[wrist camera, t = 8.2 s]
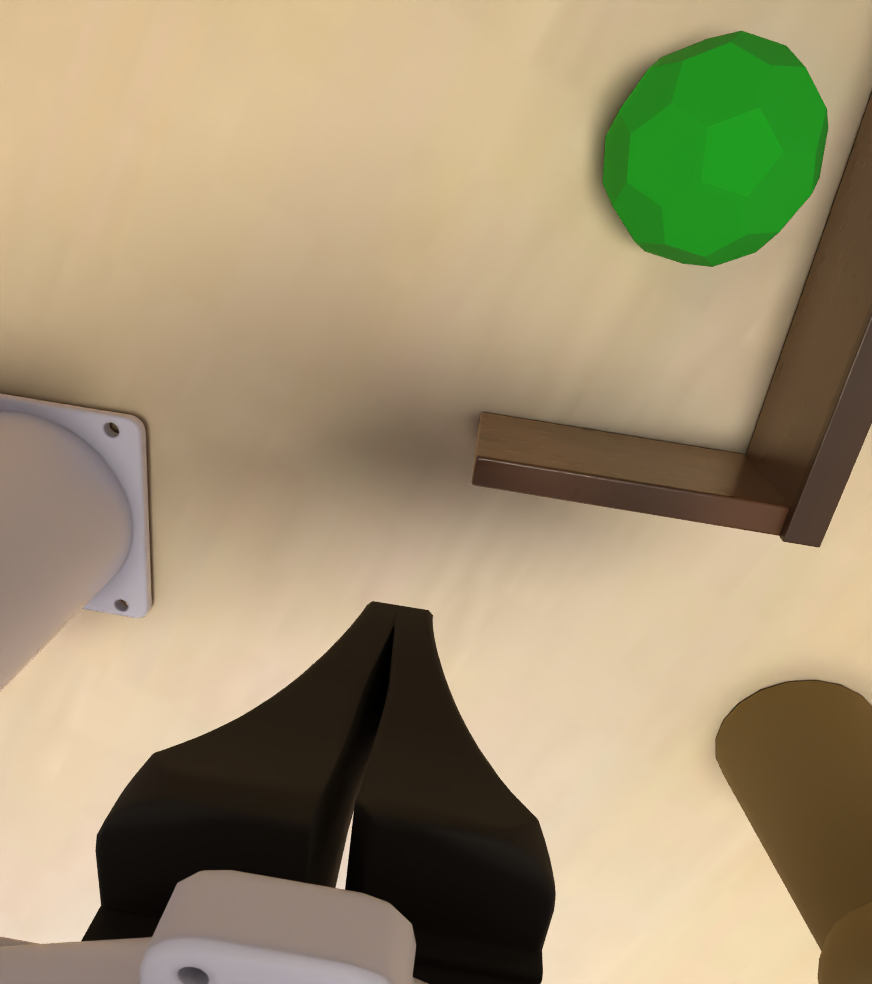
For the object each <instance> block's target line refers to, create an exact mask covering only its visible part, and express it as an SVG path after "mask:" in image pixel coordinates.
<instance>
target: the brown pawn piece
mask: <svg viewBox="0 0 872 984" xmlns="http://www.w3.org/2000/svg"><path fill="white" fill-rule="evenodd" d="M716 759H717V761H718V764H719V766H720V768H721V770H722V772H723V775H724V777H725V778H726V780H727V782H728V784H729V786H730V787H731V789H732V791H733V793H734V794H735V796H736V798H737V800H738V802H739V803H740V805H741V807H742V809H743V811H744V812H745V814H746V816H747V818H748V820H749V821H750V823H751V825H752V827H753V829H754V830H755V832H756V834H757V836H758V838H759V839H760V841H761V843H762V845H763V847H764V848H765V850H766V852H767V854H768V856H769V857H770V859H771V861H772V863H773V865H774V866H775V868H776V870H777V872H778V874H779V875H780V877H781V879H782V881H783V883H784V884H785V886H786V888H787V890H788V892H789V893H790V895H791V897H792V899H793V901H794V902H795V904H796V906H797V908H798V910H799V911H800V913H801V915H802V917H803V919H804V920H805V922H806V924H807V926H808V928H809V929H810V931H811V933H812V935H813V937H814V938H815V940H816V942H817V944H818V946H819V947H820V949H821V951H822V952H821V955H820V958H819V968H818V983H819V984H872V706H871V705H870V704H869V703H868V701H867V700H866V699H865V698H864V697H863V696H861V695H859V694H857V693H855V692H854V691H852V690H850V689H848V688H846V687H844V686H842V685H837V684H832V683H827V682H821V681H816V680H813V681H797V682H786V683H783V684H780V685H776V686H773V687H770V688H767V689H763V690H761V691H759V692H757V693H756V694H754V695H752V696H751V697H749V698H747V699H746V700H744V701H742V702H741V703H739V704H738V705H737V707H736V708H735V709H734V710H733V711H732V712H731V713H730V714H729V715H728V716H727V717H726V718H725V720H724V721H723V723H722V726H721V728H720V730H719V733H718V735H717V737H716Z"/></svg>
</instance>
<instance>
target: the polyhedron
mask: <svg viewBox="0 0 872 984" xmlns="http://www.w3.org/2000/svg"><path fill="white" fill-rule="evenodd" d="M827 132H828V119H827V108H826V106H825V104H824V102H823V100H822V99H821V97H820V95H819V93H818V91H817V89H816V87H815V85H814V83H813V81H812V79H811V77H810V75H809V73H808V71H807V69H806V67H805V66H804V65H803V64H802V63H801V62H800V61H799V59H798V58H797V57H796V56H795V55H794V54H793V53H792V52H791V51H790V49H789V48H788V47H787V46H786V45H783V44H780V43H777V42H774V41H771V40H768V39H765V38H762V37H759V36H756V35H753V34H750V33H747V32H744V31H739V32H734V33H730V34H726V35H722V36H717V37H713V38H709V39H706V40H703V41H701V42H698V43H696V44H693V45H691V46H688V47H686V48H683V49H681V50H678V51H676V52H673V53H671V54H668V55H666V56H664V57H662V58H660V59H659V60H658V61H657V62H656V63H654V64H653V65H652V66H651V67H650V68H649V69H648V70H647V72H646V73H645V74H644V76H643V77H642V79H641V80H640V81H639V83H638V84H637V86H636V87H635V89H634V90H633V91H632V93H631V94H630V96H629V97H628V99H627V100H626V101H625V103H624V104H623V106H622V107H621V109H620V110H619V111H618V113H617V115H616V117H615V119H614V121H613V123H612V125H611V127H610V129H609V131H608V133H607V135H606V137H605V153H604V170H603V185H604V188H605V190H606V192H607V195H608V197H609V199H610V202H611V204H612V206H613V208H614V209H615V211H616V212H617V214H618V216H619V217H620V219H621V220H622V222H623V224H624V225H625V227H626V228H627V230H628V232H629V233H630V235H631V236H632V238H633V240H634V241H635V242H636V243H637V244H638V245H639V246H640V247H641V248H642V249H643V250H644V251H646V252H649V253H652V254H655V255H659V256H662V257H665V258H668V259H671V260H674V261H677V262H680V263H684V264H693V265H702V266H710V267H713V266H716V265H719V264H722V263H725V262H728V261H731V260H734V259H737V258H740V257H743V256H746V255H749V254H752V253H755V252H757V251H758V250H759V249H760V248H761V247H762V246H764V245H765V244H766V243H767V242H768V241H769V240H771V239H772V238H773V237H774V236H775V235H776V234H777V233H779V232H780V231H781V229H782V228H783V227H784V226H785V225H786V224H787V222H788V221H789V220H790V219H791V218H792V216H793V215H794V214H795V213H796V212H797V211H798V209H799V208H800V207H801V206H802V205H803V204H804V202H805V201H806V200H807V199H808V198H809V197H810V195H811V194H812V193H813V190H814V188H815V186H816V184H817V182H818V180H819V177H820V172H821V166H822V160H823V154H824V149H825V143H826V137H827Z"/></svg>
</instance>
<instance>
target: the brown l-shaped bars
mask: <svg viewBox="0 0 872 984" xmlns="http://www.w3.org/2000/svg"><path fill="white" fill-rule="evenodd" d="M871 424H872V95H871V97H870V100H869V103H868V106H867V109H866V112H865V115H864V118H863V120H862V123H861V126H860V129H859V132H858V135H857V138H856V141H855V143H854V146H853V149H852V152H851V155H850V158H849V161H848V164H847V166H846V169H845V172H844V175H843V178H842V181H841V184H840V187H839V189H838V192H837V195H836V198H835V201H834V204H833V207H832V210H831V212H830V215H829V218H828V221H827V224H826V227H825V230H824V233H823V236H822V238H821V241H820V244H819V247H818V250H817V253H816V256H815V259H814V261H813V264H812V267H811V270H810V273H809V276H808V279H807V282H806V284H805V287H804V290H803V293H802V296H801V299H800V302H799V305H798V307H797V310H796V313H795V316H794V319H793V322H792V325H791V328H790V330H789V333H788V336H787V339H786V342H785V345H784V348H783V351H782V353H781V356H780V359H779V362H778V365H777V368H776V371H775V374H774V376H773V379H772V382H771V385H770V388H769V391H768V394H767V397H766V400H765V402H764V405H763V408H762V411H761V414H760V417H759V420H758V423H757V425H756V428H755V431H754V434H753V437H752V440H751V443H750V446H749V448H748V451H747V454H746V455H744V454H738V453H732V452H725V451H719V450H713V449H707V448H701V447H695V446H688V445H682V444H676V443H670V442H664V441H658V440H651V439H645V438H639V437H633V436H627V435H621V434H614V433H608V432H602V431H596V430H590V429H584V428H577V427H571V426H565V425H559V424H553V423H547V422H540V421H534V420H528V419H522V418H516V417H510V416H503V415H497V414H491V413H485V412H483V413H481V416H480V421H479V427H478V433H477V440H476V449H475V458H474V466H473V475H472V484H473V485H476V486H482V487H488V488H494V489H500V490H506V491H512V492H518V493H524V494H530V495H536V496H542V497H549V498H555V499H561V500H567V501H573V502H579V503H585V504H591V505H597V506H603V507H609V508H615V509H621V510H627V511H633V512H640V513H646V514H652V515H658V516H664V517H670V518H676V519H682V520H688V521H694V522H700V523H706V524H712V525H718V526H724V527H731V528H737V529H743V530H749V531H755V532H761V533H767V534H773V535H779V536H780V538H781V539H782V541H784V542H789V543H796V544H802V545H808V546H814V547H820V545H821V543H822V541H823V538H824V536H825V533H826V531H827V529H828V526H829V524H830V522H831V519H832V517H833V514H834V512H835V510H836V507H837V505H838V502H839V500H840V498H841V495H842V493H843V490H844V488H845V486H846V483H847V481H848V479H849V476H850V474H851V471H852V469H853V467H854V464H855V462H856V459H857V457H858V455H859V452H860V450H861V448H862V445H863V443H864V440H865V438H866V436H867V433H868V431H869V428H870V426H871Z"/></svg>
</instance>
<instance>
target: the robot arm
mask: <svg viewBox="0 0 872 984" xmlns="http://www.w3.org/2000/svg"><path fill="white" fill-rule="evenodd" d="M110 422H111V423H114V424H115V425H116V426H117V427H118V429H119V434H118V433H115V432H113V431H112V429H111V428H110ZM120 599H121V600H124V601H125V602H126V603H127V604H128V606H127V605H124V604H123V603H122V602H121V601H120ZM151 606H152V598H151V570H150V542H149V513H148V485H147V457H146V431H145V427H144V425H143V423H142V422H141V420H139V419H138V418H137V417H135V416H132V415H128V414H122V413H116V412H110V411H104V410H98V409H91V408H85V407H79V406H73V405H67V404H61V403H55V402H49V401H43V400H37V399H31V398H25V397H18V396H12V395H6V394H0V691H1V690H2V689H3V688H4V687H5V686H6V685H7V684H8V683H9V682H10V681H11V680H12V679H13V678H14V677H15V676H16V675H17V674H18V673H19V672H20V671H21V670H22V669H23V668H24V667H25V666H26V665H27V664H28V663H29V662H30V661H31V660H32V659H33V658H34V657H35V656H36V655H37V654H38V653H39V652H40V651H41V650H42V649H43V648H44V647H45V646H46V645H47V644H48V643H49V642H50V641H51V640H52V639H53V638H54V637H55V636H56V635H57V634H58V633H59V632H60V631H61V630H62V629H63V628H64V627H65V626H66V625H67V623H68V622H69V621H70V620H71V619H72V618H73V617H74V616H75V615H76V614H77V613H78V612H79V611H80V610H81V609H86V610H92V611H98V612H104V613H109V614H115V615H121V616H127V617H133V618H142V617H144V616H145V615H146V614H147V613H148V612H149V611H150V609H151ZM353 811H354V816H353V825H352V833H351V842H350V851H349V860H348V869H347V878H346V887H345V890H343V889H337V888H335V887H336V882H337V878H338V873H339V869H340V864H341V860H342V855H343V851H344V846H345V842H346V837H347V833H348V829H349V825H350V822H351V818H352V815H353ZM96 859H97V869H98V879H99V889H100V898H101V907H100V908H99V910H98V912H97V914H96V916H95V917H94V919H93V921H92V923H91V925H90V926H89V928H88V930H87V932H86V934H85V935H84V937H83V939H82V941H81V942H66V943H50V944H38V943H32V942H27V941H21V940H15V939H10V938H4V937H0V984H541V981H542V975H543V965H542V948H543V945H544V941H545V938H546V935H547V931H548V928H549V925H550V922H551V918H552V915H553V912H554V906H555V895H556V894H555V883H554V877H553V872H552V867H551V862H550V857H549V854H548V850H547V846H546V842H545V839H544V836H543V833H542V830H541V827H540V824H539V821H538V819H537V818H536V817H535V816H534V815H533V814H532V813H531V812H530V811H529V810H528V809H527V808H526V807H525V806H524V805H523V804H522V803H521V802H520V801H519V800H518V799H517V798H516V797H515V796H514V795H513V793H512V792H511V791H510V790H509V789H508V788H507V786H506V785H505V784H504V783H503V781H502V780H501V779H500V778H499V777H498V775H497V774H496V772H495V771H494V769H493V768H492V766H491V765H490V764H489V762H488V761H487V759H486V758H485V756H484V755H483V753H482V752H481V751H480V749H479V748H478V746H477V744H476V743H475V741H474V739H473V737H472V736H471V734H470V732H469V730H468V729H467V727H466V725H465V723H464V721H463V719H462V717H461V715H460V713H459V711H458V709H457V706H456V704H455V702H454V699H453V697H452V694H451V692H450V690H449V687H448V684H447V682H446V679H445V676H444V673H443V669H442V666H441V663H440V660H439V656H438V652H437V648H436V644H435V639H434V633H433V615H432V614H431V613H430V611H429V610H424V609H417V608H411V607H405V606H399V605H393V604H387V603H380V602H374V601H373V602H371V603H369V604H368V605H367V606H366V607H365V609H364V610H363V612H362V613H361V614H360V616H359V617H358V618H357V619H356V621H355V622H354V623H353V624H352V625H351V627H350V628H349V629H348V630H347V631H346V632H345V633H344V634H343V636H342V637H341V638H340V639H339V640H338V641H337V642H336V643H335V644H334V645H333V646H332V647H331V648H330V649H329V650H328V651H327V652H326V653H325V654H324V655H323V656H322V657H321V658H320V659H319V660H317V661H316V662H315V663H314V664H313V665H312V666H311V667H310V668H309V669H307V670H306V671H305V672H304V673H303V674H302V675H300V676H299V677H298V678H297V679H296V680H294V681H293V682H292V683H290V684H289V685H288V686H287V687H285V688H284V689H282V690H281V691H280V692H278V693H277V694H276V695H274V696H273V697H271V698H270V699H268V700H267V701H265V702H264V703H262V704H260V705H259V706H257V707H256V708H254V709H253V710H251V711H249V712H248V713H246V714H244V715H243V716H241V717H239V718H237V719H235V720H233V721H231V722H229V723H227V724H225V725H223V726H221V727H219V728H217V729H215V730H213V731H211V732H208V733H206V734H204V735H202V736H199V737H197V738H194V739H192V740H189V741H186V742H184V743H181V744H178V745H176V746H173V747H170V748H167V749H165V750H162V751H159V752H156V753H154V754H152V756H151V757H150V758H149V759H148V760H147V762H146V763H145V764H144V765H143V766H142V768H141V769H140V770H139V771H138V772H137V774H136V775H135V776H134V777H133V779H132V780H131V781H130V782H129V784H128V785H127V786H126V788H125V789H124V791H123V792H122V794H121V795H120V797H119V798H118V800H117V801H116V803H115V805H114V806H113V808H112V810H111V811H110V813H109V815H108V816H107V818H106V819H105V821H104V823H103V825H102V827H101V829H100V830H99V832H98V834H97V840H96Z"/></svg>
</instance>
